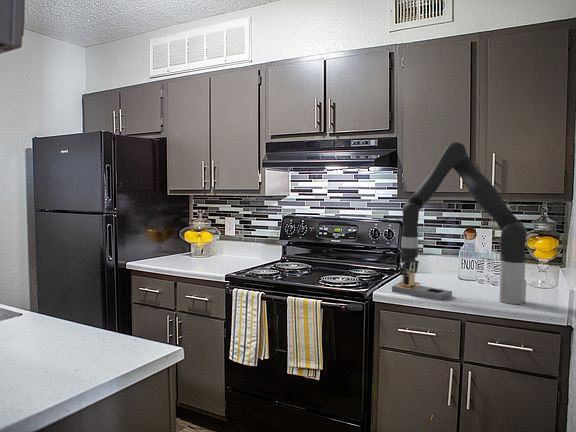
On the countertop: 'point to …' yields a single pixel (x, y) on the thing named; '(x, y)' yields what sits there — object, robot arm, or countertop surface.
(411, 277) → the brass block
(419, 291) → the gray fixture base
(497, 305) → the countertop surface
